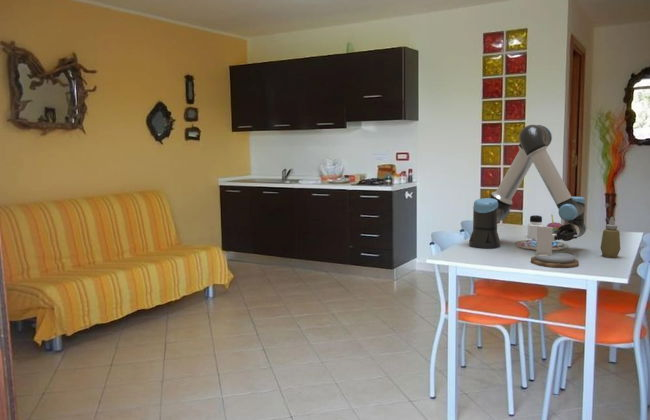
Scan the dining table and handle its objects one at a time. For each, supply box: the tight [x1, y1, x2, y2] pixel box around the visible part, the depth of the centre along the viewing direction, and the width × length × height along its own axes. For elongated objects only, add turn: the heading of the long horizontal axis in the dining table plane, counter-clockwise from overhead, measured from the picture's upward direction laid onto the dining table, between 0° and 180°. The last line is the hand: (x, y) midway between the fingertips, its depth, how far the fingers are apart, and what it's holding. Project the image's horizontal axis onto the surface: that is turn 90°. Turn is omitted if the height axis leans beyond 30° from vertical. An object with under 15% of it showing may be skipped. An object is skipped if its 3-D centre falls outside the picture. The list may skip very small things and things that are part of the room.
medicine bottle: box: [527, 214, 545, 240], centre depth 302 cm, size 7×7×12 cm
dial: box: [534, 225, 576, 263], centre depth 238 cm, size 16×16×14 cm
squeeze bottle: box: [599, 216, 621, 258], centre depth 251 cm, size 8×8×18 cm
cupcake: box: [546, 214, 563, 232], centre depth 310 cm, size 9×8×12 cm
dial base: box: [530, 255, 580, 269], centre depth 239 cm, size 19×19×2 cm
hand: (549, 238), depth 241 cm, fingers closed
